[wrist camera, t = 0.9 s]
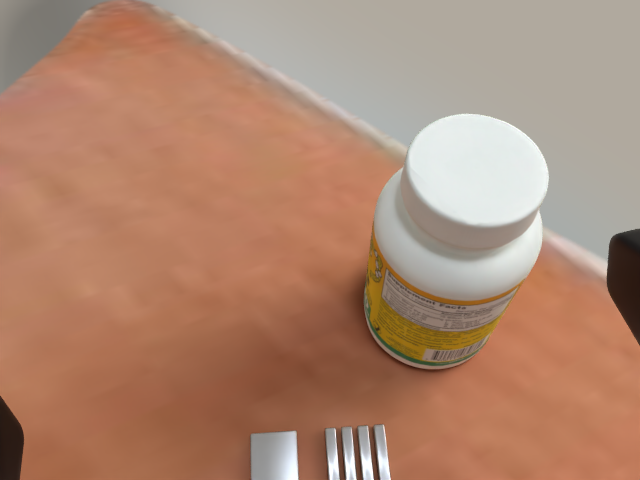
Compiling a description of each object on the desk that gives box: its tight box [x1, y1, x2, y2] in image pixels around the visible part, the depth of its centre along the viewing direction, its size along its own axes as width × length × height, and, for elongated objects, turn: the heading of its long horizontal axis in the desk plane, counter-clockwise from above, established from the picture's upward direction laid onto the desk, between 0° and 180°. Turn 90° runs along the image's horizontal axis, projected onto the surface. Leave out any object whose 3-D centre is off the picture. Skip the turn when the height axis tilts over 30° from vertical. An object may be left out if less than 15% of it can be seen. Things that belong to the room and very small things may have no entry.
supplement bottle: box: [364, 114, 549, 369], centre depth 21 cm, size 5×5×10 cm
